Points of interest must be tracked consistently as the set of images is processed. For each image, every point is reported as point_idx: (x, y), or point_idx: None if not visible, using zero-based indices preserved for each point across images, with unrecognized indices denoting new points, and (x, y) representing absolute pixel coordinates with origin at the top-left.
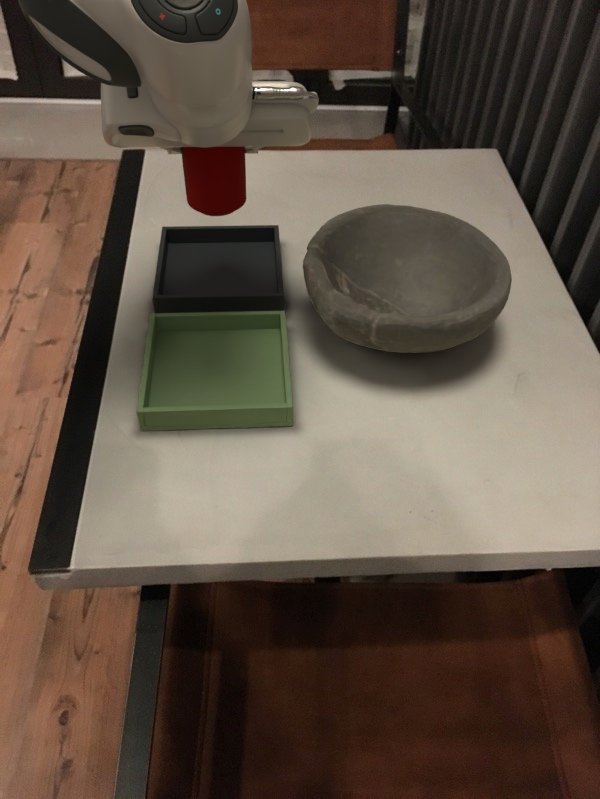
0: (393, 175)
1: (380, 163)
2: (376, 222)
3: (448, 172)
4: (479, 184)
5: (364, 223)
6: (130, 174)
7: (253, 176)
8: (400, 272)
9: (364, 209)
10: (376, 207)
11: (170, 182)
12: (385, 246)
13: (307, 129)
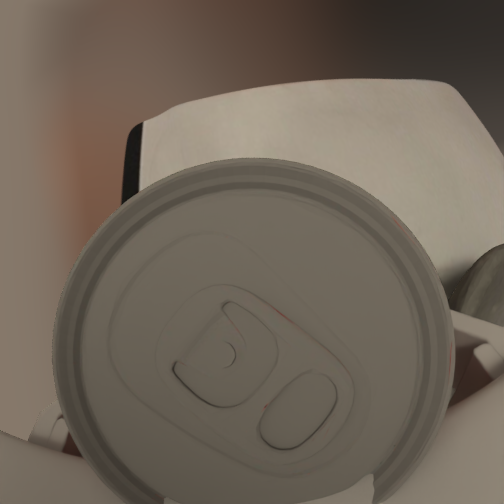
0: (404, 109)
1: (385, 93)
2: (495, 281)
3: (442, 107)
4: (469, 124)
5: (487, 290)
6: (130, 152)
7: (263, 122)
8: (492, 319)
9: (492, 272)
10: (500, 261)
11: (171, 152)
12: (490, 298)
13: None
